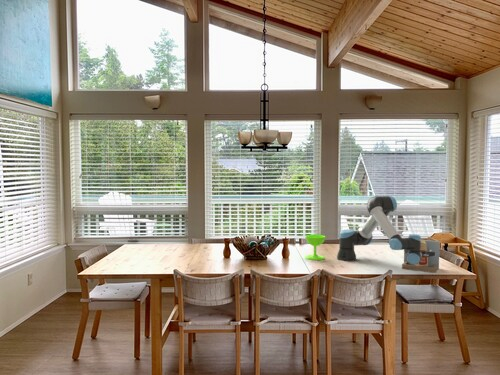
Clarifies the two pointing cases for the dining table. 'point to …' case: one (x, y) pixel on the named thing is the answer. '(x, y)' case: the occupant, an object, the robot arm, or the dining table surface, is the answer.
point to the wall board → (432, 260)
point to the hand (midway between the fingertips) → (420, 250)
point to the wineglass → (315, 241)
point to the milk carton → (424, 259)
